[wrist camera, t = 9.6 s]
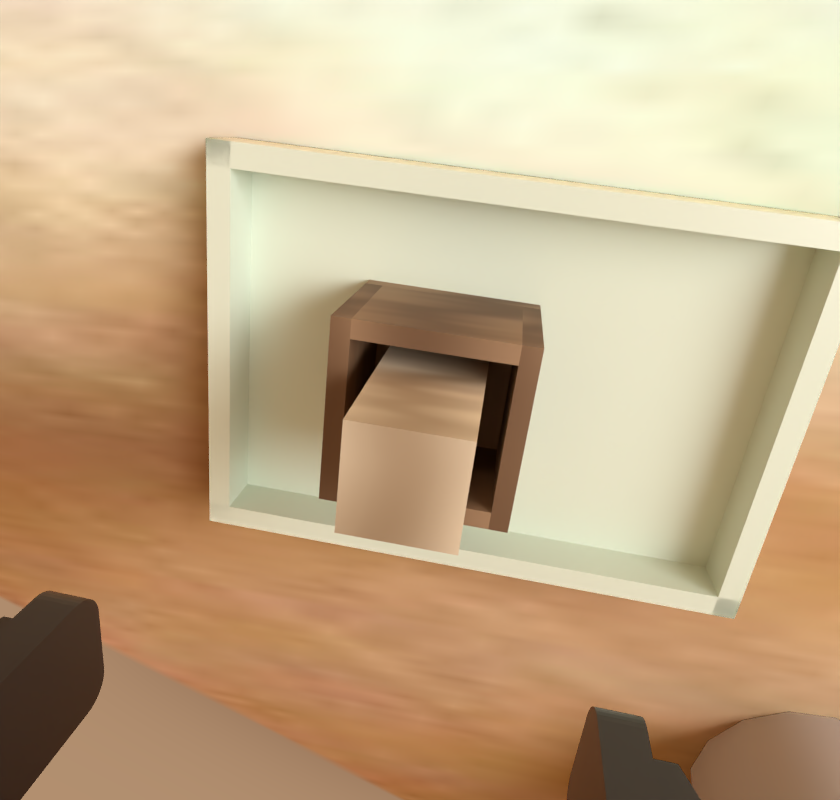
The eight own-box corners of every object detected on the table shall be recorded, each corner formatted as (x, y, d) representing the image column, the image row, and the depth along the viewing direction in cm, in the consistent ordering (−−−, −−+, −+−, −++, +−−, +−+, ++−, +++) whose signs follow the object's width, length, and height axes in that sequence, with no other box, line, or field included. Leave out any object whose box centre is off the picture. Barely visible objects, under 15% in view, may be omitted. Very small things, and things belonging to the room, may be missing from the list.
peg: (492, 342, 23) (476, 441, 15) (478, 425, 24) (458, 555, 16) (401, 328, 23) (343, 419, 16) (392, 411, 24) (334, 532, 17)
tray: (845, 217, 21) (884, 227, 18) (716, 578, 26) (734, 618, 24) (237, 137, 22) (205, 137, 20) (234, 489, 28) (209, 520, 26)
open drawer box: (540, 305, 22) (544, 348, 18) (510, 459, 25) (507, 532, 20) (369, 279, 23) (330, 315, 18) (355, 432, 25) (318, 498, 21)
